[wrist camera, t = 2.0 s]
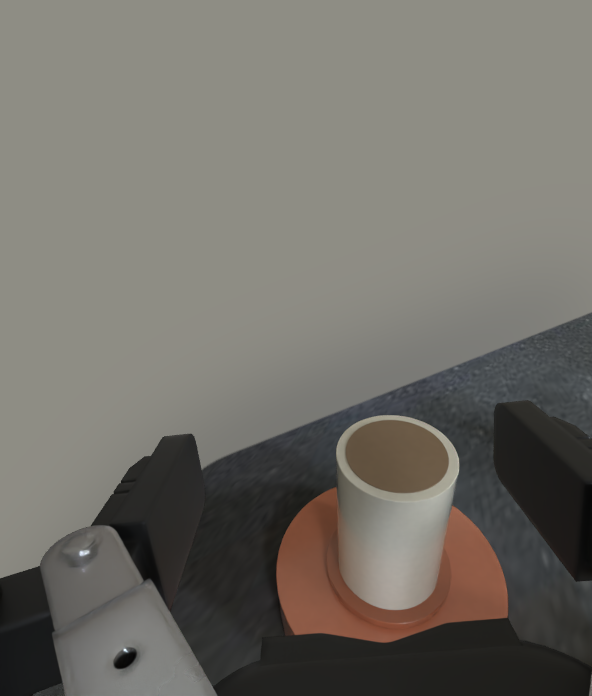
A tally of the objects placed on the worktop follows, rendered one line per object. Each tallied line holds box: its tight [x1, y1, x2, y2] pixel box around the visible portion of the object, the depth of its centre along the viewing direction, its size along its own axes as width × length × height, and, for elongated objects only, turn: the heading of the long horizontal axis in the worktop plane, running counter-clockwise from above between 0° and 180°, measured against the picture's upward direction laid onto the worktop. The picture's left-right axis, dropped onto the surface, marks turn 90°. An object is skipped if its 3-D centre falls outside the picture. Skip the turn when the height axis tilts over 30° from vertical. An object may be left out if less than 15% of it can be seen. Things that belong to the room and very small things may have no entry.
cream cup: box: [336, 415, 459, 610], centre depth 25 cm, size 6×6×9 cm
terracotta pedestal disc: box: [276, 487, 508, 643], centre depth 28 cm, size 14×14×4 cm
